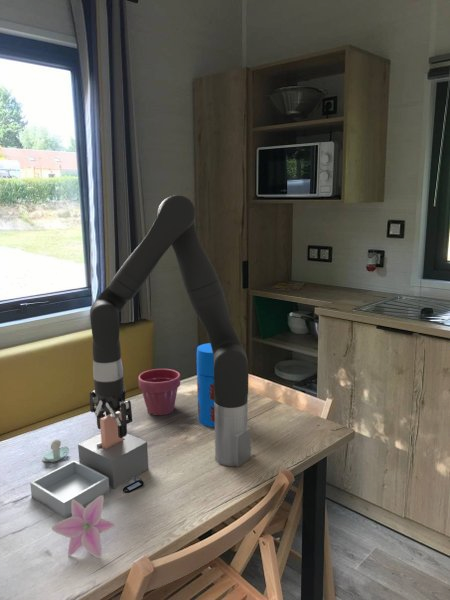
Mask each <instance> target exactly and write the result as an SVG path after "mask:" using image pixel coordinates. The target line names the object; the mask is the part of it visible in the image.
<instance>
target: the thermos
mask: <svg viewBox="0 0 450 600" xmlns="http://www.w3.org/2000/svg"><path fill="white" fill-rule="evenodd" d="M196 374H197V375H196V381H197V382H196V385H197V413H198V422H199V424H201V425H203V426H205V427H209V428H215V408H214V357H213V351H212V347H211V344H210V342H208V343H203V344H200V345H198V346H197V348H196Z"/></svg>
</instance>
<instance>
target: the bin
mask: <svg viewBox="0 0 450 600" xmlns="http://www.w3.org/2000/svg"><path fill="white" fill-rule="evenodd" d="M29 484H30V494H31V498H33V499H34V500H36V501H37V502H38V503H39V502H40V503H41V504H43V505H44V506H45V507H47V508H48V509H50V510H51V511H54V512H55V513H56V514H57V515H59V516H61V517H63V518H64V519H67V518H70V516H72V511H71V502H72V499H74V500H76V501H77V502H78V503H80V504H81V505H82V506H83V507H84V508H86V507H87V506H88V505H89V504H90V503H91V502H92V501H93V500H95V499H96V498H97V497H99V496H101V495H103V496H105V495H107V494H108V493H110V487H109V478H108V477H106V476H104V475H102V474H100V473H99V472H97V471H95V470H93V469H91V468H89V467H87V466H85V465H83V464H81V463H80V462H79V461H77V460H75V459H74V460H72V461H70V462H68V463H66V464H64V465H62V466H60V467H59V468H56V469H55V470H52V471H51V472H48V473H46V474H44V475H42V476H40V477H38V478H36V479H34V480H32V481H30V483H29Z"/></svg>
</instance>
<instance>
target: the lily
mask: <svg viewBox="0 0 450 600" xmlns="http://www.w3.org/2000/svg"><path fill="white" fill-rule="evenodd" d="M104 496H105V495H101V496H99V497H97V498H96V499H95V500H93V501H92V502H91V503H90V504H88V505H87V506H85V507H83V506H82V505H81V504H80V503H78V502H77V501H76V500H74V499H72V502H71V511H72V515H71V517H70V516H69V517H67V518H64V519H63V520H61V521H59V522H57V523H55V524H54V525H53V526H52V527H51V530H52V531H53V532H54V533H57V534H59V535H61V536H63V537H65V538H69V539H70V540H69V544H68V550H67V555H68V557H69V556H70V557H71V556H72V555H74V554H75V553H76V552H77V551H78V550H80V548H82V547H83V549H85V550H86V551H87V552H88V553H90V554H91V555H92V556H94V558H97V559H99V558H101V557H102V541H101V534H103V533H105V532H107V531H109V530H111V529H113V528H115V527H116V523H115V522H112V521H111V520H108V519H106V518H102V512H103V507H104Z"/></svg>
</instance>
